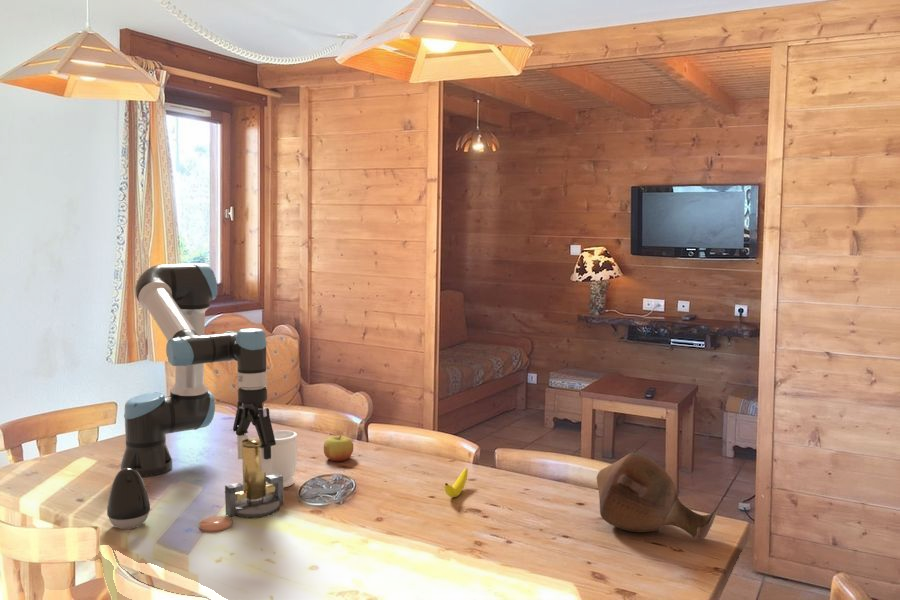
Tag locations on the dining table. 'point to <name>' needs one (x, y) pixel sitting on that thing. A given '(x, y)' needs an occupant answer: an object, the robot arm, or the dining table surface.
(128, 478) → the black and white egg
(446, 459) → the dining table surface
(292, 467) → the jar
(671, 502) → the jug
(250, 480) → the amber glass cylinder
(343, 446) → the apple
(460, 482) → the banana
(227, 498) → the grey two-tab base
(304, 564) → the dining table surface
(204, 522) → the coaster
